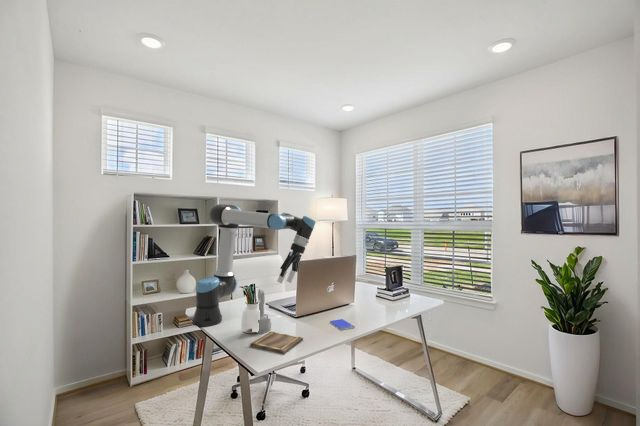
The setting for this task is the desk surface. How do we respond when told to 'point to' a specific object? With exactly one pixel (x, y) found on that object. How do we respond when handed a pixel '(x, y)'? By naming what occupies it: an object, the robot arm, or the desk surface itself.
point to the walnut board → (277, 342)
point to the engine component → (264, 321)
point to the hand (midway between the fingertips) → (284, 282)
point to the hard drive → (342, 324)
